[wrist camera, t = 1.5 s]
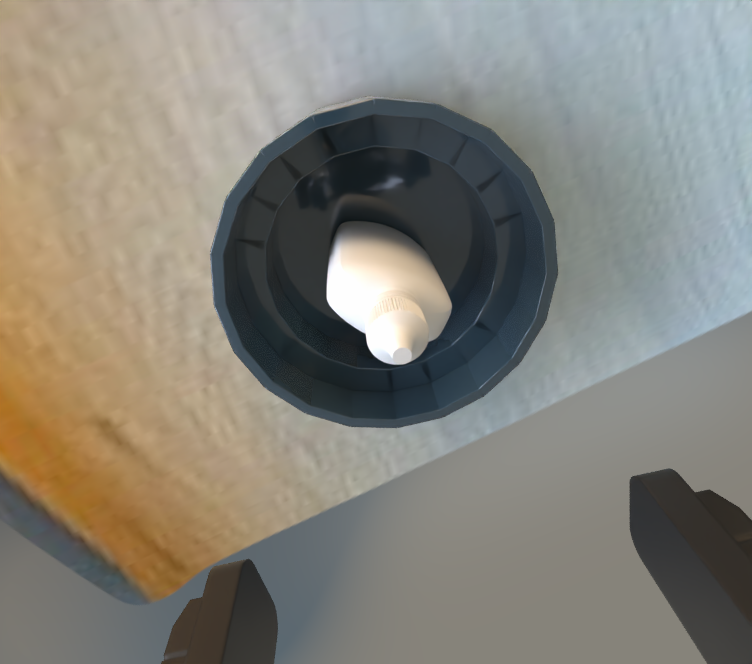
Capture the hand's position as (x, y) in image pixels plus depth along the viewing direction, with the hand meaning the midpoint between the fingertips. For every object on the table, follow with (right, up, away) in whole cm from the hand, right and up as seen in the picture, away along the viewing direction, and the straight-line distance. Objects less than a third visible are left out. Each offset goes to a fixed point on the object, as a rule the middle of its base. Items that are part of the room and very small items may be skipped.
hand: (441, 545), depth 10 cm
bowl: (-1, +9, +18) cm, 20 cm away
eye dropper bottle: (-1, +9, +18) cm, 20 cm away
